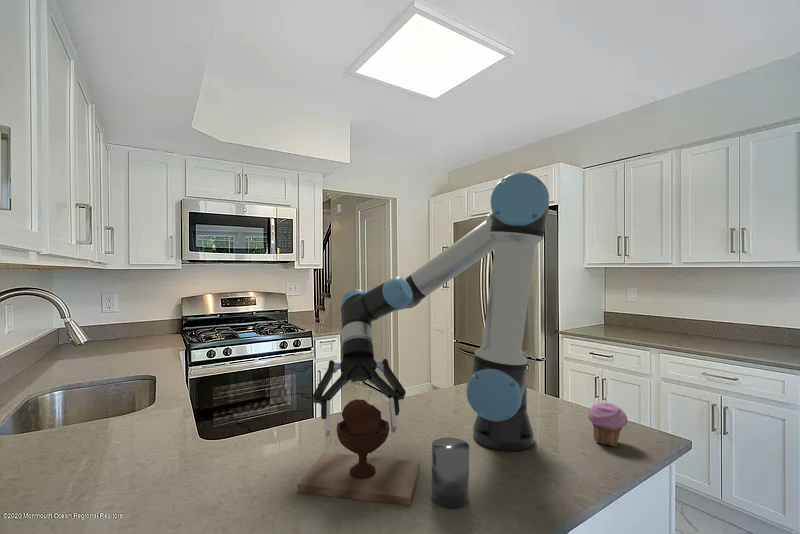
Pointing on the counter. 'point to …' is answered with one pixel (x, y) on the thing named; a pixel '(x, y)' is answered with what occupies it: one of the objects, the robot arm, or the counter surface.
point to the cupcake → (607, 422)
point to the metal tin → (450, 473)
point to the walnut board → (385, 486)
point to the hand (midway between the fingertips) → (361, 431)
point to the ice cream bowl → (362, 434)
